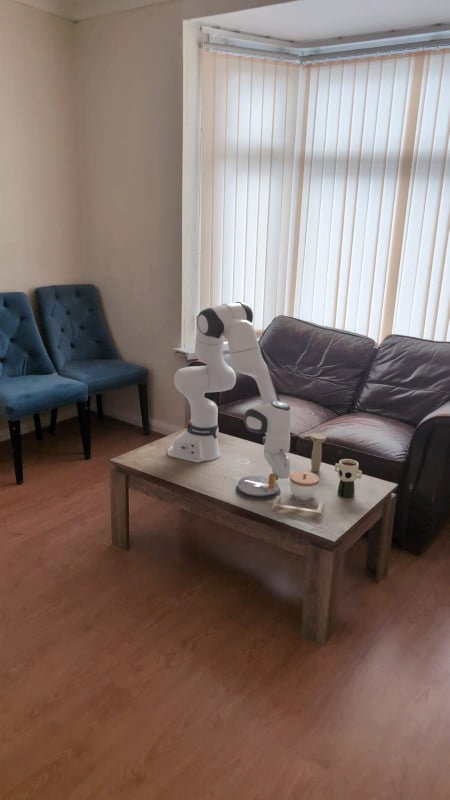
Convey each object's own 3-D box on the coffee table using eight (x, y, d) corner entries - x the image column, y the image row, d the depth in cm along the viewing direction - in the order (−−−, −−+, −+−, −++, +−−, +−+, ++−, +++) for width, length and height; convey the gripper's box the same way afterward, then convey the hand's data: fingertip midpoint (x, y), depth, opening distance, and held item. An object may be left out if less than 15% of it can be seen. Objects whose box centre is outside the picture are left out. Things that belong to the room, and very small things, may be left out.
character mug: (328, 493, 232) (331, 461, 228) (337, 487, 238) (340, 455, 234) (354, 502, 226) (357, 469, 222) (363, 495, 231) (366, 463, 227)
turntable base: (230, 496, 227) (230, 495, 227) (241, 478, 242) (241, 477, 242) (275, 503, 222) (275, 503, 222) (284, 484, 238) (284, 483, 238)
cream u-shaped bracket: (272, 511, 217) (272, 505, 216) (276, 501, 224) (276, 495, 223) (320, 519, 212) (320, 513, 212) (323, 509, 220) (323, 502, 219)
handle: (319, 474, 248) (322, 439, 244) (305, 470, 252) (308, 435, 247) (325, 471, 252) (328, 436, 247) (311, 466, 255) (314, 432, 251)
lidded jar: (294, 504, 223) (296, 480, 220) (284, 491, 233) (286, 468, 230) (322, 501, 225) (324, 478, 222) (311, 489, 235) (313, 466, 232)
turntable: (231, 491, 229) (232, 474, 227) (248, 477, 242) (249, 460, 240) (268, 501, 223) (269, 483, 221) (283, 485, 235) (285, 468, 233)
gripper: (295, 455, 217) (292, 491, 221) (277, 434, 236) (275, 467, 240) (278, 456, 216) (275, 492, 220) (261, 435, 235) (259, 468, 239)
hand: (275, 479), depth 230 cm, fingers closed, pressing on turntable
